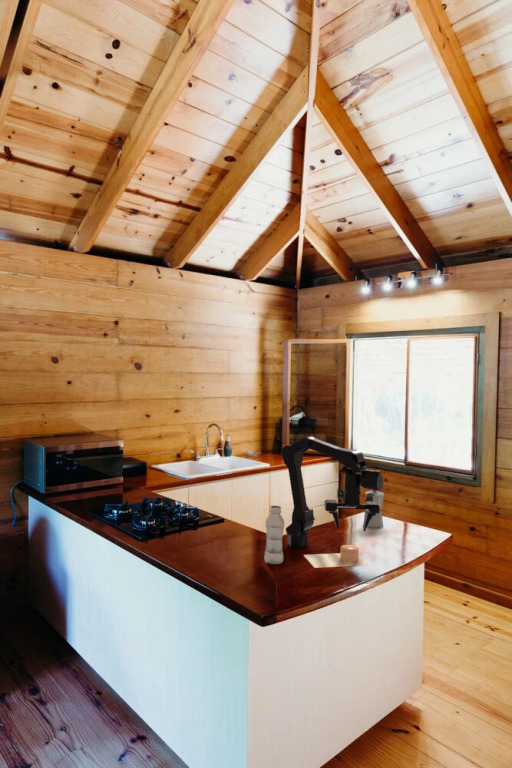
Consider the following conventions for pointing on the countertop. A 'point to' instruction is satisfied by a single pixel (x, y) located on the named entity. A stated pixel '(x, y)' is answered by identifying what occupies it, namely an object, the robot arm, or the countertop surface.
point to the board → (331, 560)
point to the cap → (349, 553)
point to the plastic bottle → (274, 536)
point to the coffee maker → (378, 498)
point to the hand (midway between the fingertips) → (350, 530)
